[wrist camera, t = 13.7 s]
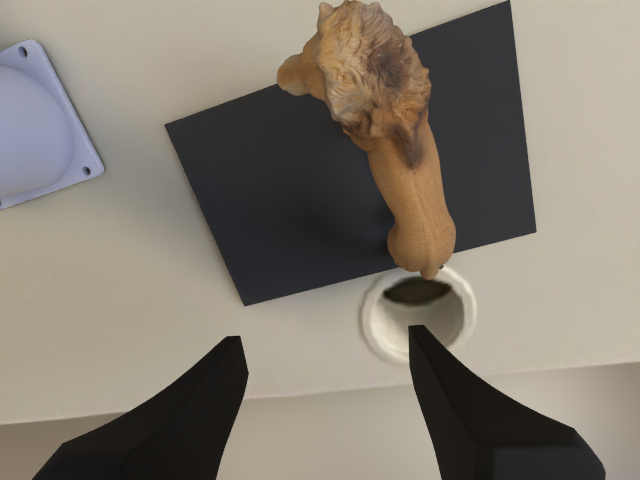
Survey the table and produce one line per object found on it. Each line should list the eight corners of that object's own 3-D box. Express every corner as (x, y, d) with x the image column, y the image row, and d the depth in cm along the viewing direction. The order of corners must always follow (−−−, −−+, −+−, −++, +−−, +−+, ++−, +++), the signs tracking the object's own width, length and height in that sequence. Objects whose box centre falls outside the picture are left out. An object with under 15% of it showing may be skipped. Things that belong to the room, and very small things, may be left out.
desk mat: (245, 303, 25) (244, 306, 24) (167, 124, 21) (163, 124, 20) (533, 230, 22) (537, 232, 21) (506, 1, 18) (510, -1, 17)
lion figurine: (287, 74, 19) (243, 41, 11) (372, 16, 18) (399, -73, 9) (403, 281, 23) (439, 377, 14) (479, 244, 22) (567, 326, 13)
